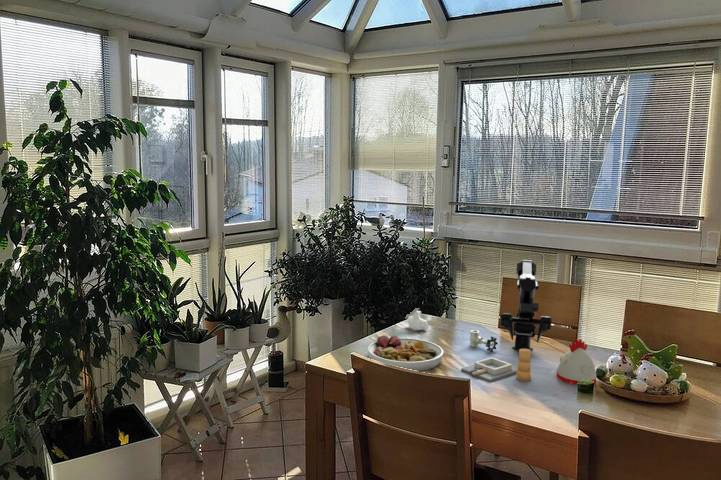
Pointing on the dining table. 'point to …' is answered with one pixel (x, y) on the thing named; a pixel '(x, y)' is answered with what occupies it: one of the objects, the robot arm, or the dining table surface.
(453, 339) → the dining table surface
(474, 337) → the valve
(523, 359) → the tan ribbed cylinder
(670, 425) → the dining table surface
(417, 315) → the duck figurine
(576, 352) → the kitchen timer
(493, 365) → the plate
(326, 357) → the dining table surface
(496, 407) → the dining table surface
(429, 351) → the bowl
